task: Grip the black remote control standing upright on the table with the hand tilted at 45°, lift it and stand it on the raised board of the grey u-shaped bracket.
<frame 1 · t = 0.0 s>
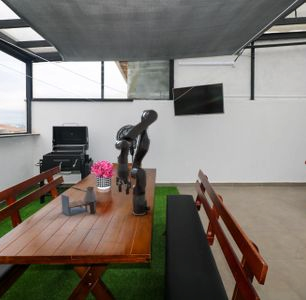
hand: (123, 193, 173), 17 cm above the table, tool pointing down, fingers open, 8 cm apart
coffee pot: (84, 203, 209), on the table
remote: (93, 212, 187), on the table
grey u-shaped bracket: (75, 211, 191), on the table
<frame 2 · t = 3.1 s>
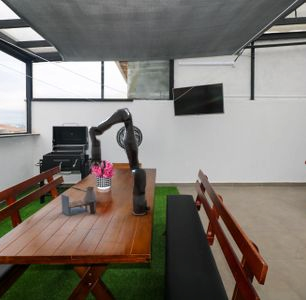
hand: (96, 173, 197), 26 cm above the table, tool pointing down, fingers open, 8 cm apart
nothing on the table moved.
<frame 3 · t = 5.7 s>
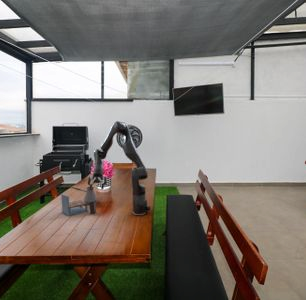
hand: (96, 189, 196), 15 cm above the table, tool tilted 40°, fingers open, 8 cm apart
nothing on the table moved.
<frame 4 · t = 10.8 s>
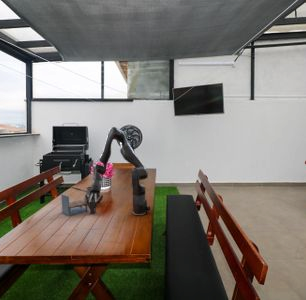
hand: (92, 207, 184), 4 cm above the table, tool tilted 45°, fingers closed on remote, 3 cm apart
remote: (93, 212, 187), on the table, touching gripper
everything else where it was.
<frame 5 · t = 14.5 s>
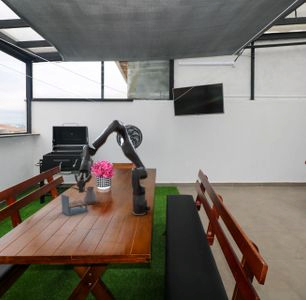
hand: (80, 186, 186), 19 cm above the table, tool tilted 45°, fingers closed on remote, 3 cm apart
remote: (81, 191, 188), point 15 cm above the table, touching gripper
everything else where it was.
when the fingers open (10 cm above the table, at t = 18.1 s): remote stays where it is, resting on grey u-shaped bracket.
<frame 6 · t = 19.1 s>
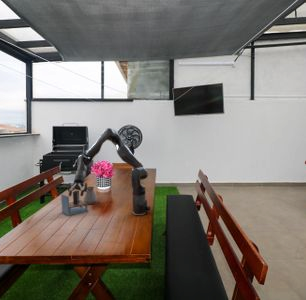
hand: (75, 195, 189), 12 cm above the table, tool tilted 45°, fingers open, 8 cm apart
remote: (76, 203, 191), point 6 cm above the table, touching grey u-shaped bracket
everything else where it was.
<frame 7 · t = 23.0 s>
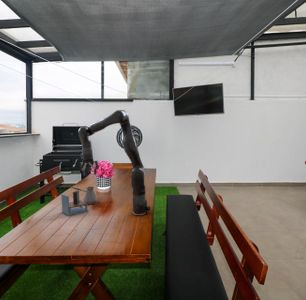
hand: (89, 175, 192), 26 cm above the table, tool pointing down, fingers open, 8 cm apart
nothing on the table moved.
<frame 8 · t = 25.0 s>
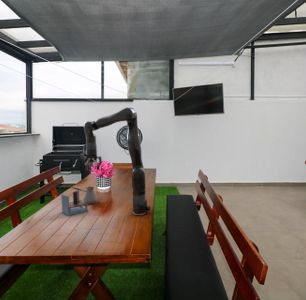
hand: (92, 170, 191), 30 cm above the table, tool pointing down, fingers open, 8 cm apart
nothing on the table moved.
at the end: remote inside the target area on the grey u-shaped bracket (1.1 cm from its centre), point 6.0 cm above the grey u-shaped bracket's base; remote tilted 0° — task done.
